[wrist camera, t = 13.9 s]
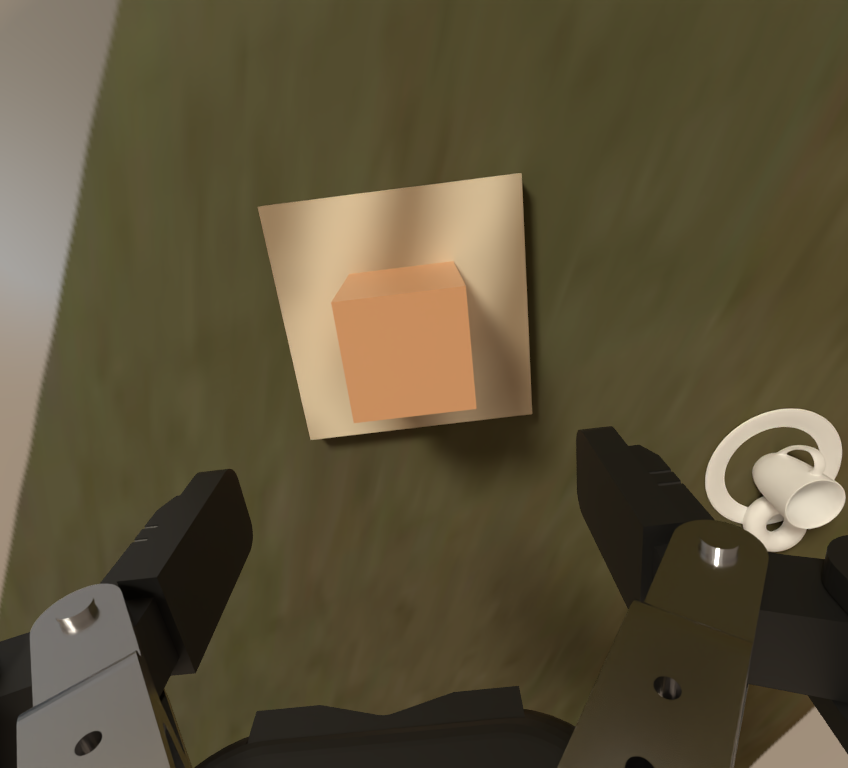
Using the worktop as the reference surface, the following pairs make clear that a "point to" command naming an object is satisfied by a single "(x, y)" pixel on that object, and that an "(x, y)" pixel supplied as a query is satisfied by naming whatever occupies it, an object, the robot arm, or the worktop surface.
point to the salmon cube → (405, 342)
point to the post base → (395, 248)
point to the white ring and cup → (782, 480)
